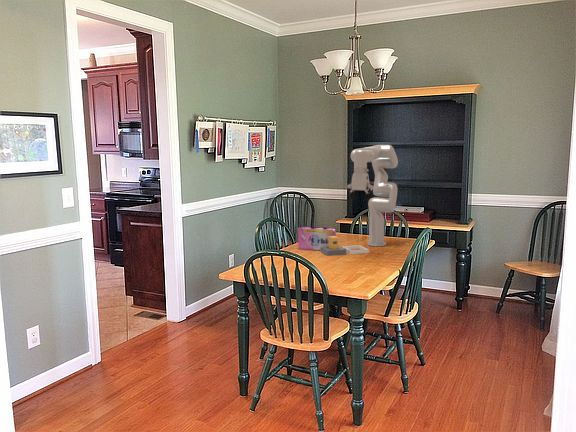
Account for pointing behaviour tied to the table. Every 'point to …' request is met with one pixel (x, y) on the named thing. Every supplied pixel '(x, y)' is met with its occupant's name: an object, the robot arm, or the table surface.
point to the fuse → (332, 242)
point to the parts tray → (363, 250)
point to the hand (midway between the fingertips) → (359, 199)
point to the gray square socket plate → (333, 251)
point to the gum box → (314, 237)
